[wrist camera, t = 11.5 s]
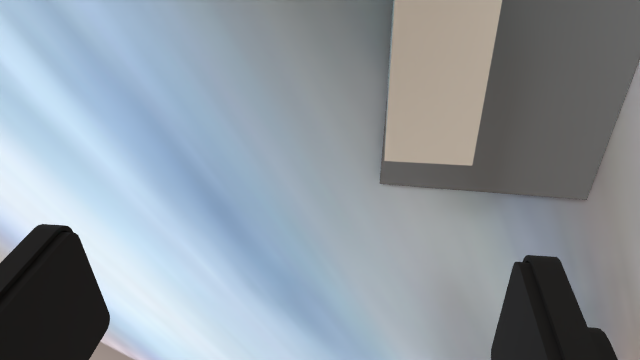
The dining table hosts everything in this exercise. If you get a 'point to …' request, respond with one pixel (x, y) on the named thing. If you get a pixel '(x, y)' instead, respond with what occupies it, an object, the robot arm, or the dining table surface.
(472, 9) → the slab
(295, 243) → the dining table surface
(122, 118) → the dining table surface
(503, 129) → the mat
